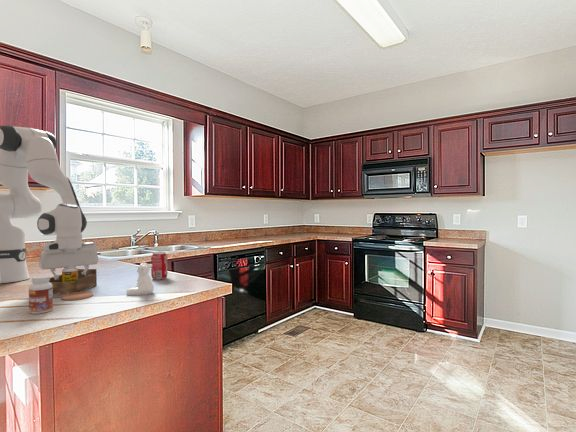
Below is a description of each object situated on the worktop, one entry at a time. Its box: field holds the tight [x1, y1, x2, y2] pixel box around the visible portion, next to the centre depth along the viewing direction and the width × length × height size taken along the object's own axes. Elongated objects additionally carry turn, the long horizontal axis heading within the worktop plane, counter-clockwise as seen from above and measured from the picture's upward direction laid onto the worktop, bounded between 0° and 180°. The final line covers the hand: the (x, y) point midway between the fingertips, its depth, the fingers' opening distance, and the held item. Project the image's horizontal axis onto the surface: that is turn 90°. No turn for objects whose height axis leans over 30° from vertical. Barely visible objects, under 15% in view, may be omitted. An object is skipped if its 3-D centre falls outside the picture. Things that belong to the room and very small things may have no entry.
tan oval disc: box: [61, 290, 94, 301], centre depth 128 cm, size 10×10×1 cm
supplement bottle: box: [61, 265, 79, 282], centre depth 141 cm, size 6×6×10 cm
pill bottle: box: [28, 275, 54, 315], centre depth 110 cm, size 6×6×11 cm
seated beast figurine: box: [125, 262, 155, 296], centre depth 133 cm, size 10×9×12 cm
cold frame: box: [49, 268, 98, 294], centre depth 141 cm, size 14×14×7 cm
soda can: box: [150, 251, 168, 281], centre depth 161 cm, size 7×7×12 cm
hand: (70, 277), depth 141 cm, fingers open, 8 cm apart
